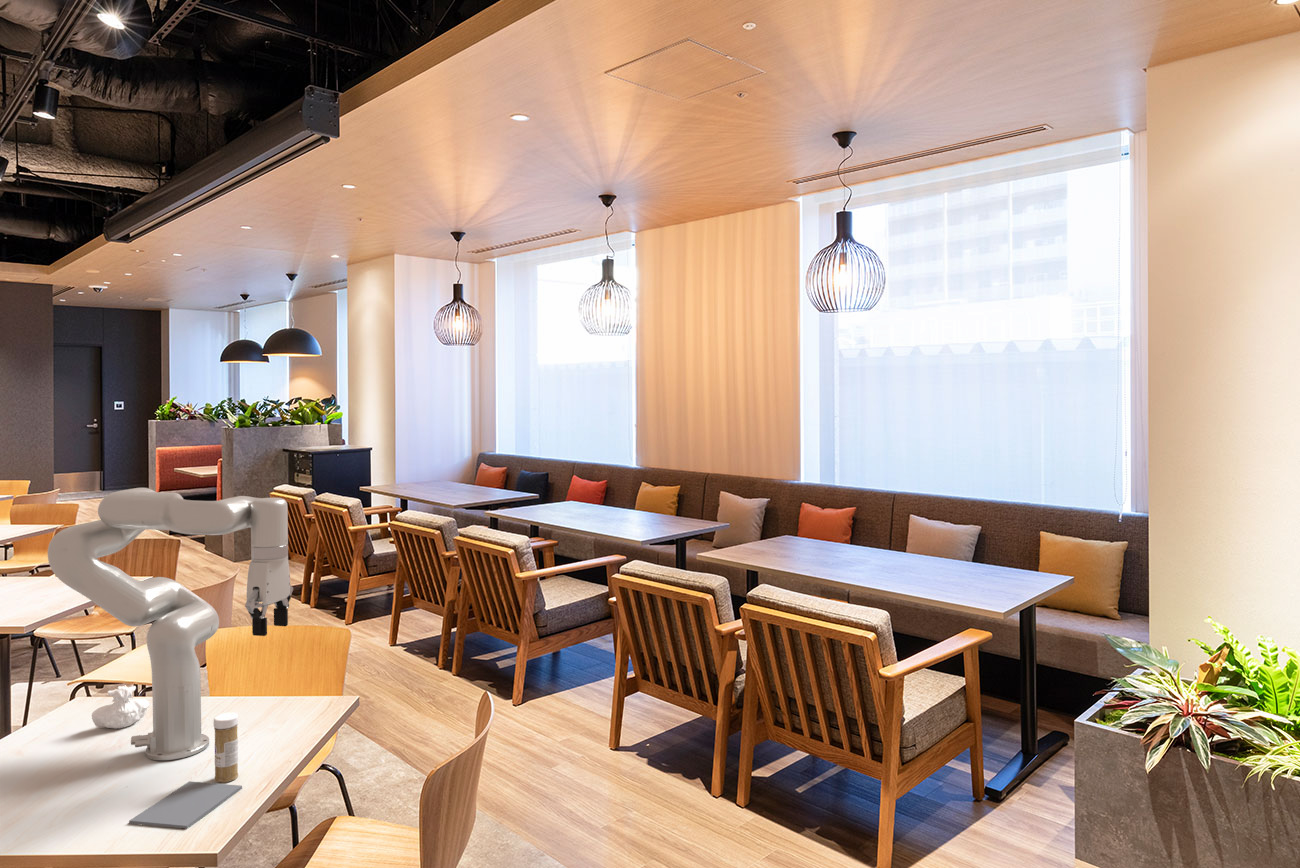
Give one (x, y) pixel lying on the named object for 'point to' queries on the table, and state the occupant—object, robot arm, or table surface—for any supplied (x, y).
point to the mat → (186, 805)
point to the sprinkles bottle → (226, 747)
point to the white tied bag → (120, 709)
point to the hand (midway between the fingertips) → (270, 629)
